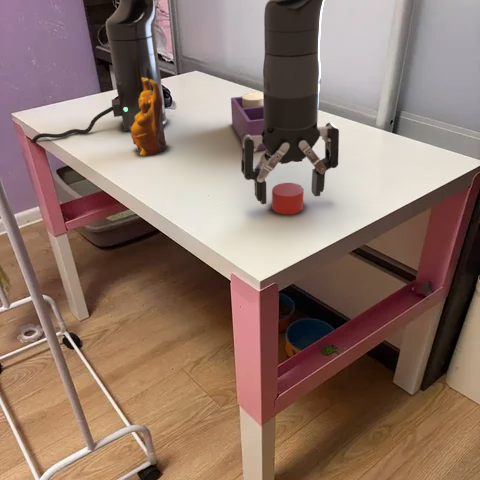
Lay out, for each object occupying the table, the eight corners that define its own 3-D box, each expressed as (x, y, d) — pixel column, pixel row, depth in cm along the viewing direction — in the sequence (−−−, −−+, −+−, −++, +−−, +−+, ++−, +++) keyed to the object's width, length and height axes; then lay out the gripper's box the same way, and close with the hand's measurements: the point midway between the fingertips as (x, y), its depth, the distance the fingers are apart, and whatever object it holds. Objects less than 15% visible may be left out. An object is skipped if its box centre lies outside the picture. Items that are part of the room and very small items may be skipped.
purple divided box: (248, 151, 97) (247, 122, 94) (232, 125, 109) (230, 97, 105) (288, 146, 98) (289, 117, 95) (268, 120, 110) (268, 93, 106)
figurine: (129, 151, 99) (116, 82, 91) (155, 141, 103) (146, 73, 95) (149, 160, 96) (138, 88, 88) (176, 149, 100) (168, 79, 91)
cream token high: (245, 116, 102) (244, 101, 100) (240, 109, 105) (239, 94, 103) (268, 114, 102) (268, 98, 100) (262, 106, 106) (262, 91, 104)
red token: (276, 216, 78) (276, 198, 76) (268, 202, 81) (268, 184, 79) (306, 212, 78) (307, 194, 76) (297, 198, 82) (298, 180, 80)
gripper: (331, 74, 72) (324, 182, 83) (233, 85, 70) (239, 194, 81) (352, 89, 66) (341, 202, 77) (245, 101, 65) (249, 216, 75)
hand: (289, 198), depth 79 cm, fingers open, 8 cm apart
